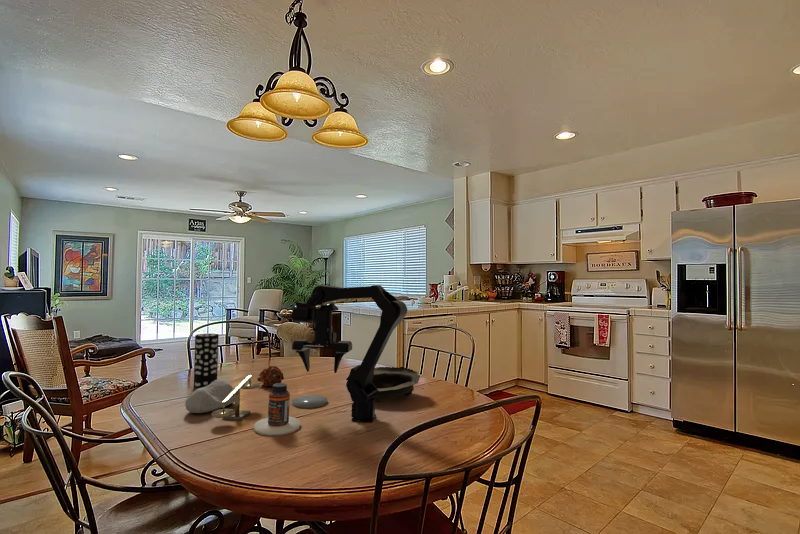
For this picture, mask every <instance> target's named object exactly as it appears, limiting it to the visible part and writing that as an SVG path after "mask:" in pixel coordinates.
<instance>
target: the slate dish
mask: <svg viewBox="0 0 800 534" xmlns="http://www.w3.org/2000/svg"><path fill="white" fill-rule="evenodd" d="M291 404H292V405H291V406H293V407H296V408H300V409H314V408H320V407H323V406H326V405H327V404H328V398H327V397H326V396H323V395H318V394H306V395H299V396H296V397H294V398H292V400H291Z"/></svg>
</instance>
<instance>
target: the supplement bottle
mask: <svg viewBox="0 0 800 534" xmlns="http://www.w3.org/2000/svg"><path fill="white" fill-rule="evenodd" d="M287 385H288V384H287V383H285V382H281V383H276V384H273V387H271V388H272V391H270V392H269V394H268V408H267V410H268V411H267V418H268V424H269V425H271V426H283V425H286V424H287V423H288V422H289V417H290V399H291V398H290V396H291V394H290V391H288V390H287V389H288V387H287Z"/></svg>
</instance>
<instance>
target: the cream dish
mask: <svg viewBox="0 0 800 534" xmlns="http://www.w3.org/2000/svg"><path fill="white" fill-rule="evenodd" d="M301 425H302V424H301V420H300V419H299V418H297V417H294V416H289V422H288V423H287V424H286V425H283V426H271V425H269V424H268V417H266V418H262V419H260V420H258V421H256V422H255V423H254V425H253V431H254V432H255V433H256V434H259V435H263V436H266V437H267V436H270V437H272V436H273V437H274V436H275V437H276V436H283V435H288V434H292V433H294V432H297V431H298V430H299V429H301Z"/></svg>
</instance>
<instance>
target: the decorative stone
mask: <svg viewBox="0 0 800 534" xmlns="http://www.w3.org/2000/svg"><path fill="white" fill-rule="evenodd" d="M234 389H235V388H233V385H231V384H230V383H229V382H228V381H226V380H225V379H222V378H219V379H218V378H217V380H215V381H213V382H212V383H211V384H210V385H208V386H205V387H203V388H198V389H196V388H195V390H194V391H193V392H192V393H190V395H189V396H188V397H187V399H186V401H185V409H186V411H188V412H189V413H192V414H202V413H203V414H204V413H210V412H213V411H216V410H220V409H221V408H222V409H223V404H222V401H223V400H224V399H225V398H226V397H227V396H228V395H229V394H230V393H231V392H232V391H233V390H234ZM233 403H234V404H235V395H234V396H233V397H232V398H231V399H230V400H229V401H228V403H227V404H226V405H225V407H227V406H230V405H232V404H233Z"/></svg>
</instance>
